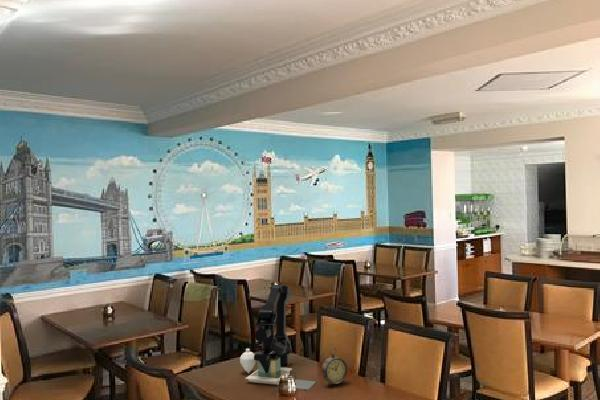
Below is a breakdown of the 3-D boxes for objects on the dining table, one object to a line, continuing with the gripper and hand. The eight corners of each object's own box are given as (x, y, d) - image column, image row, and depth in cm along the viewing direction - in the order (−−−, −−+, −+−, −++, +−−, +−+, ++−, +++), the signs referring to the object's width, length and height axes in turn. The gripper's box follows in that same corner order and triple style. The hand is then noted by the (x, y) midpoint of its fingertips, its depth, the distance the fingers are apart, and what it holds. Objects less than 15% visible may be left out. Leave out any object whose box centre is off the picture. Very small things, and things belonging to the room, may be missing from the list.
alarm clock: (326, 389, 211) (325, 350, 212) (320, 385, 216) (319, 347, 216) (348, 384, 216) (347, 346, 217) (341, 380, 221) (340, 344, 221)
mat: (295, 380, 223) (295, 379, 223) (316, 382, 219) (316, 381, 219) (286, 388, 214) (286, 387, 214) (308, 390, 210) (308, 389, 210)
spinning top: (237, 375, 234) (236, 349, 234) (249, 370, 239) (248, 345, 239) (247, 378, 228) (247, 352, 229) (260, 374, 234) (259, 348, 234)
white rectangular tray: (263, 372, 236) (263, 365, 237) (292, 374, 231) (292, 368, 231) (245, 385, 220) (245, 378, 220) (276, 388, 214) (276, 381, 214)
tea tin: (263, 375, 229) (262, 356, 230) (280, 377, 226) (280, 357, 226) (258, 379, 225) (257, 359, 225) (276, 381, 221) (275, 360, 222)
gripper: (275, 343, 214) (277, 379, 214) (292, 332, 232) (293, 366, 231) (252, 341, 218) (253, 377, 218) (270, 331, 236) (271, 364, 235)
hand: (269, 371), depth 225 cm, fingers closed on tea tin, 5 cm apart
